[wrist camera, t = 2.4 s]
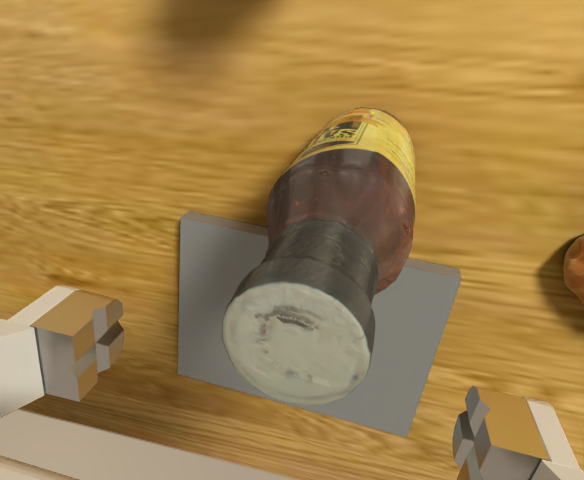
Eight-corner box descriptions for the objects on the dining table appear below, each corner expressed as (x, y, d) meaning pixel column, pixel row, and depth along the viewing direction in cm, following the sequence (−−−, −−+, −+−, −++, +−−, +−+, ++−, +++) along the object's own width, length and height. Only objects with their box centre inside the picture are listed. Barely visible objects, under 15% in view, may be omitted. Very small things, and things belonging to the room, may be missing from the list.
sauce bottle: (359, 82, 27) (280, 157, 9) (435, 148, 27) (499, 339, 10) (296, 162, 30) (142, 336, 12) (365, 220, 30) (316, 467, 13)
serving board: (458, 268, 30) (461, 279, 29) (406, 422, 37) (406, 437, 35) (189, 210, 33) (180, 217, 32) (185, 363, 40) (177, 374, 38)
